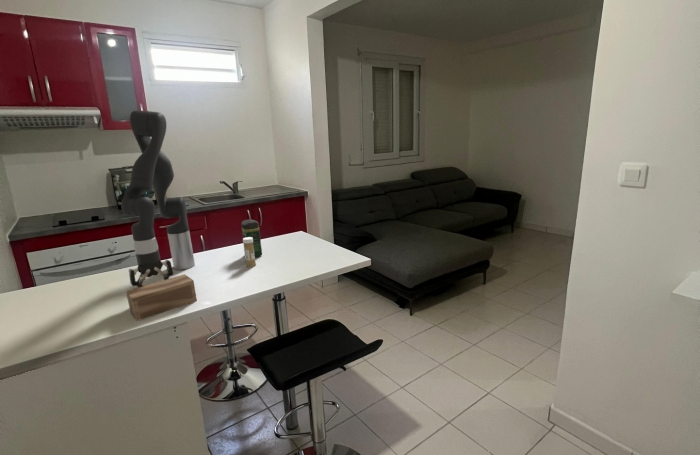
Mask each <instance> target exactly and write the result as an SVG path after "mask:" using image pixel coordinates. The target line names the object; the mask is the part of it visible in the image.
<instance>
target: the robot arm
mask: <svg viewBox="0 0 700 455" xmlns="http://www.w3.org/2000/svg"><path fill="white" fill-rule="evenodd" d="M129 122H130V123H129V124H130V128H131V131H132V133H133V136H134V137H135V140H136V142H137V144H138V146H139V147H138V148H139V149H140V152H141V154H140V155H139V156H138V157H137V159H136V160H135V162H134V164H133V165H132V169H131V174H130V183H129V185H128V187H127V188H126V191H125V193H124V195H123V197H122V200H121V206H120V207H121V211H122V213H123V214H124V215H125V216H128V217H139V221H138V222H135V223H133V224H132V225H131V227H130V228H131V234H132V239H133V240H132V241H133V247H134V252H135V253H134V254H135V257H136V261H137V268H133V269H132V268H129V269H128V274H129V281H130V282H129V283H130V284H131V285H132V287H135V286H137V287H136V288H138V287H142V286H144V285H143V283H144V281H145V280H146V279H147V278H151V277H155V276H158V274H160V275H161V276H162V277H163V280H166V279H170V276H173V275H174V270H178V271H179V270H187V269H190V268H193V267H194V266H195V264H196V262H195V258H194V251H193V244H192V239H191V233H190V227H189V222H188V214H187V212H188V211H187V204H186V200H185V198H184V197H183V196H173V197H166V194H167V191H168V189H169V188H170V186H171V184H172V182H173V180H174V177H175V173H174V169H173V165H172V163H171V160H170V159H169V157H168V156H167V155H166V154H165V153H164V152H163V151H162V150H161V149H162V146H163V142H164V140H165V136H166V132H167V120H166V117H165V115H164V114H163V113H162V112H159V111H151V110H137V109H136V110H132V111H131V112H130V114H129ZM152 189H153V190H154V194H155V198H156V202H157V207H158V210H159V213H160V216H161V217H162V218H163V219H173V218H175V219H176V218H179V219H178V221H176V222H174V223H172V224H169V225H168V226H167V227H166V233H167V239H168V243H169V249H170V250H169V251H170V254H171V260H169V259H165V261H162V260H161V255H160V251H159V244H158V240H157V238H156V232H155V228H154V224H155V214H156V206H155V202H154V201H153V199H151V197H148V196H143V194H144V193H147V192H150V191H152ZM171 261H172V263H171ZM163 266H164V267H166V270H167V272H164V271H163V270H162V268H163ZM173 269H174V270H173ZM137 273H139V276H138V278H137V281H136V275H137Z"/></svg>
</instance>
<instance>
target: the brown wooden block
mask: <svg viewBox="0 0 700 455" xmlns="http://www.w3.org/2000/svg"><path fill="white" fill-rule="evenodd" d="M195 288H196V287H195V282H194V279H193V278H191V277H189V276H188V275H186V273H185V274H181V275H176V276H173V277H169V279H166V280H164V279H163V280H160V281H156V282H153V283H149V284H145V285H143V286H142V287H136V288H131V289H128V290H125V293H126V298H127V303H128V307H129V308H128V309H129V312H130V314H131V315H132V316H133V318H134V319H135V320H136V321H137V322H138V321H141V320H144V319H147V318H150V317H153V316H156V315H159V314H163V313H165V312H168V311H171V310H173V309H177V308H179V307H183V306H185V305H188V304H190V303H194V302H197V301H198V299H197V293H196V289H195Z"/></svg>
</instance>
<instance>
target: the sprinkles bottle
mask: <svg viewBox="0 0 700 455" xmlns="http://www.w3.org/2000/svg"><path fill="white" fill-rule="evenodd" d="M242 244H243V249H244V257H245V266H246V267H247V268H252V267H255V266H256V265H257V263H256V258H255V254H254V247H253V238H252V237H246V238H243V237H242Z"/></svg>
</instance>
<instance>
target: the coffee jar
mask: <svg viewBox="0 0 700 455" xmlns="http://www.w3.org/2000/svg"><path fill="white" fill-rule="evenodd" d="M240 227H241V232H242V239H243V238H246V237H252V238H253V247H254V254H255V259H256V258H259V257H262V255H263V249H262V242H261V232H260V224H259V222H258V221H257V220H255V219H252V218H250V219H244V220H242V221H241V224H240Z"/></svg>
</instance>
